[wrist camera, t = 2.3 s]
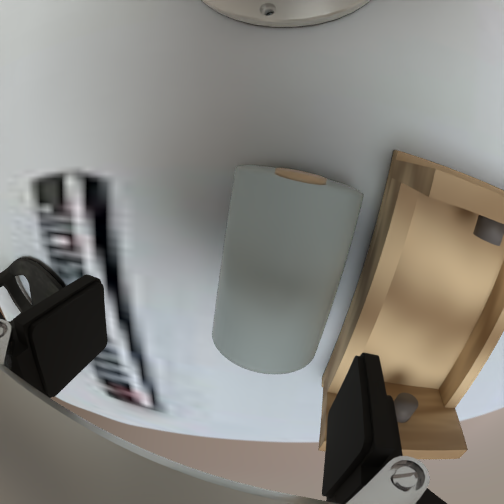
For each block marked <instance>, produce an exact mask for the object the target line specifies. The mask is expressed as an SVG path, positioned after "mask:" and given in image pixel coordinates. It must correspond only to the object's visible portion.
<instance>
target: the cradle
mask: <svg viewBox="0 0 504 504" xmlns="http://www.w3.org/2000/svg"><path fill="white" fill-rule="evenodd" d="M503 331H504V191H503V190H501V189H499V188H497V187H495V186H492V185H490V184H488V183H485V182H483V181H481V180H478V179H476V178H473V177H471V176H469V175H466V174H464V173H461V172H458V171H456V170H453V169H451V168H448V167H445V166H442V165H440V164H437V163H434V162H431V161H428V160H425V159H422V158H419V157H416V156H413V155H410V154H407V153H404V152H401V151H397V150H394V151H393V156H392V161H391V165H390V170H389V174H388V179H387V183H386V187H385V191H384V195H383V199H382V203H381V207H380V211H379V215H378V218H377V222H376V226H375V229H374V233H373V236H372V240H371V243H370V246H369V250H368V253H367V256H366V260H365V263H364V266H363V269H362V272H361V275H360V278H359V281H358V284H357V287H356V290H355V293H354V296H353V299H352V302H351V305H350V308H349V310H348V313H347V316H346V319H345V321H344V324H343V327H342V329H341V332H340V335H339V337H338V340H337V342H336V345H335V348H334V350H333V353H332V355H331V357H330V360H329V362H328V365H327V367H326V370H325V372H324V374H323V377H322V387H323V402H322V416H321V428H320V439H319V450H320V451H326V437H327V419H328V413H329V410H330V408H331V406H332V404H333V402H334V400H335V398H336V396H337V394H338V392H339V390H340V388H341V385H342V383H343V381H344V379H345V377H346V375H347V373H348V370H349V368H350V366H351V364H352V361H353V359H354V357H355V356H356V355H357V356H360V355H361V354H362V353H363V352H364V353H369V354H374V355H378V356H379V358H380V363H381V367H382V372H383V377H384V382H385V388H386V393H387V395H390V396H391V397H392V398H393V401H394V406H395V411H396V417H397V422H398V428H399V434H400V440H401V447H402V454H403V456H409V457H413V458H415V459H457V458H460V457H461V456H462V455H463V454H464V453H465V452H466V451H467V450H468V449H467V446H466V442H465V439H464V435H463V432H462V429H461V426H460V422H459V419H458V416H457V413H456V410H455V407H456V406H457V404H458V403H459V402H460V400H461V399H462V398H463V396H464V395H465V393H466V392H467V390H468V389H469V388H470V386H471V385H472V383H473V382H474V380H475V379H476V377H477V375H478V374H479V372H480V371H481V369H482V368H483V366H484V364H485V363H486V361H487V359H488V358H489V356H490V354H491V353H492V351H493V349H494V348H495V346H496V344H497V342H498V340H499V339H500V337H501V335H502V333H503Z"/></svg>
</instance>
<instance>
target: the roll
mask: <svg viewBox="0 0 504 504" xmlns="http://www.w3.org/2000/svg"><path fill="white" fill-rule="evenodd" d="M363 195H364V194H363V193H362V192H360V191H359V190H357V189H355V188H352V187H350V186H347V185H345V184H342V183H339V182H336V181H333V180H329V179H326V178H325V177H322V176H319V175H316V174H312V173H309V172H304V171H300V170H294V169H288V168H274V167H266V166H255V165H241V166H237V167H236V169H235V175H234V181H233V188H232V194H231V201H230V207H229V214H228V220H227V227H226V234H225V241H224V248H223V255H222V262H221V269H220V276H219V284H218V291H217V299H216V306H215V314H214V322H213V330H212V337H213V341H214V344H215V346H216V347H217V349H218V350H219V351H220V353H221V354H222V355H223V356H225V357H226V358H227V359H228V360H230V361H231V362H233V363H234V364H236V365H238V366H240V367H242V368H245V369H248V370H251V371H254V372H258V373H264V374H285V373H291V372H295V371H297V370H300V369H302V368H303V367H305V366H306V365H308V364H309V363H310V362H311V361H312V359H313V358H314V356H315V353H316V350H317V348H318V345H319V342H320V339H321V336H322V334H323V331H324V328H325V325H326V322H327V319H328V316H329V313H330V310H331V307H332V304H333V301H334V298H335V295H336V292H337V289H338V286H339V282H340V279H341V276H342V273H343V269H344V266H345V263H346V259H347V256H348V252H349V249H350V245H351V242H352V238H353V234H354V231H355V227H356V223H357V219H358V215H359V212H360V208H361V204H362V200H363Z"/></svg>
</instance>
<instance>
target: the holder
mask: <svg viewBox="0 0 504 504" xmlns="http://www.w3.org/2000/svg"><path fill="white" fill-rule="evenodd" d="M18 275H24V276H25V277H26V278H27V280H28V282H29V286H30V292H31V298H32V305H31V304H30V303H29V301H28V300H27V299H26V297H25V296H24V294H23V293H22V291H21V290H20V288H19V286H18V284H17V282H16V279H15V276H18ZM2 286H4V287H5V288H6V289H7V291H8V293H9V294H10V296H11V298H12V300H13V302H14V303H15V305H16V306H17V308H18V309H19V310H20V312H21V313H20V314H22V313H24V312H25V311H27V310H28V309H30V308H31V307H33V306H35V305H36V304H38V303H39V302H41V301H43V300H44V299H46V298H47V297H49V296H51V295H52V294H54V293H56V292H57V291H59V290H61V289H62V288H63V287H62V286H61V285H60V283H59V282H58V281H57V280H56V279H55V278H54V277H53V276H52V275H51V274H50V273H49V272H48V271H46V270H45V269H44V268H43V267H42V266H41V265H39V264H38V263H36V262H35V261H32V260H30V259H27V258H19V259H17V260H16V261H14V262H13V263H12V264H11V265H10V266H9V267H8V268H7V269H5V270H4V271H3V272H1V273H0V287H2ZM20 314H19V315H20ZM19 315H18V316H19ZM0 319H3V320H5V318H3V316H2V314H1V312H0ZM9 323H10V325H11V327H12V328H14V327H15V325H14V321H13V320H12V321H11V322H9Z"/></svg>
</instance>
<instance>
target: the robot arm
mask: <svg viewBox="0 0 504 504" xmlns="http://www.w3.org/2000/svg"><path fill="white" fill-rule="evenodd" d="M202 1H203V2H204V3H205V4H207V5H208V6H210V7H211V8H212V9H214V10H215V11H217V12H219V13H221V14H223V15H226V16H228V17H230V18H232V19H235V20H239V21H243V22H246V23H250V24H255V25H263V26H271V27H298V26H306V25H314V24H319V23H323V22H327V21H331V20H335V19H338V18H340V17H342V16H345V15H347V14H350V13H352V12H354V11H356V10H357V9H359V8H360V7H362V6H363V5H365V4H366V3H368V2H369V1H370V0H202ZM269 12H273V14H272V15H268V16H266V14H267V13H269ZM13 321H14V325H15V327H14V328H12V327H11V325H10V323H9V322H8V321H6V320H3V319H0V504H447V503H446V502H444V501H443V500H441V499H440V498H439V497H438V496H436V495H435V494H434V493H433V492H431V491H430V490H429V489H428V488H427V487H428V484H429V478H430V477H429V473H428V470H427V468H426V467H425V466H424V464H423V463H421V462H420V461H419V460H417V459H415V458H413V457H409V456H403V454H402V447H401V440H400V434H399V428H398V422H397V417H396V411H395V406H394V401H393V398H392V397H391V396H390V395H387V393H386V388H385V382H384V377H383V372H382V367H381V363H380V358H379V356H378V355H374V354H369V353H364V352H363V353H362V354H361V355H360V356H357V355H356V356H355V357H354V359H353V361H352V364H351V366H350V368H349V370H348V373H347V375H346V377H345V379H344V381H343V383H342V385H341V388H340V390H339V392H338V394H337V396H336V398H335V400H334V402H333V404H332V406H331V408H330V410H329V413H328V419H327V437H326V453H325V465H324V477H323V487H322V495H323V496H327V500H326V501H322V500H317V499H311V498H306V497H301V496H296V495H290V494H285V493H280V492H275V491H271V490H267V489H262V488H258V487H254V486H250V485H247V484H242V483H239V482H235V481H232V480H228V479H224V478H221V477H217V476H215V475H211V474H208V473H205V472H202V471H199V470H196V469H193V468H190V467H187V466H185V465H182V464H179V463H177V462H174V461H171V460H169V459H166V458H164V457H161V456H159V455H156V454H154V453H152V452H149V451H147V450H145V449H142V448H140V447H138V446H136V445H134V444H132V443H129V442H127V441H125V440H123V439H121V438H119V437H117V436H115V435H113V434H111V433H109V432H107V431H105V430H103V429H101V428H99V427H97V426H96V425H94V424H92V423H90V422H88V421H87V420H85V419H83V418H81V417H80V416H78V415H76V414H75V413H73V412H71V411H70V410H68V409H66V408H65V407H63V406H61V405H60V404H58V403H57V402H55V401H53V400H52V399H50V398H51V397H54V396H56V395H57V394H58V393H59V392H60V391H61V390H62V389H63V388H64V387H65V386H66V385H67V384H68V383H69V382H70V381H71V380H72V379H73V378H74V377H75V376H76V375H77V374H79V373H80V372H81V371H82V370H83V369H84V368H85V367H86V366H87V365H88V364H89V363H90V362H91V361H92V360H93V359H94V358H95V357H96V356H97V355H98V354H99V353H100V352H101V351H102V350H103V349H104V348H105V347H106V345H107V331H106V319H105V304H104V287H103V284H101V281H100V279H98V278H96V277H93V276H90V275H84V276H83V277H81V278H79V279H77V280H76V281H74V282H72V283H71V284H69V285H67V286H66V287H64V288H62V289H61V290H59V291H57V292H56V293H54V294H52V295H51V296H49V297H47V298H46V299H44V300H43V301H41V302H39V303H38V304H36V305H35V306H33V307H31V308H30V309H28V310H27V311H25V312H24V313H22V314H20V315H19V316H17V317H16V318H14V319H13Z"/></svg>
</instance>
